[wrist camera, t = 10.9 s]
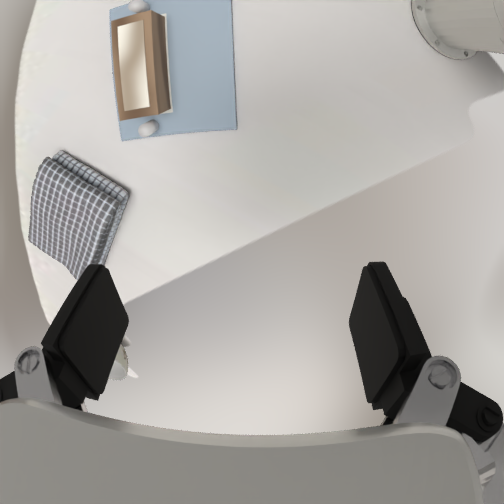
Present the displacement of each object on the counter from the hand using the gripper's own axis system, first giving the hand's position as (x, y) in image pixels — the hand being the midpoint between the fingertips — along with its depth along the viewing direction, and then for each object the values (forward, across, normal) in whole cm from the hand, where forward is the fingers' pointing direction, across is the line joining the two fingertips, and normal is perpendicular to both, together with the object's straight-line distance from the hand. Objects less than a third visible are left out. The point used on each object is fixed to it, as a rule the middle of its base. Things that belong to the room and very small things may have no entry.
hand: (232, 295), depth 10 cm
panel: (+30, +10, -10) cm, 33 cm away
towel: (+31, +29, +11) cm, 44 cm away
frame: (+29, +13, -10) cm, 34 cm away
